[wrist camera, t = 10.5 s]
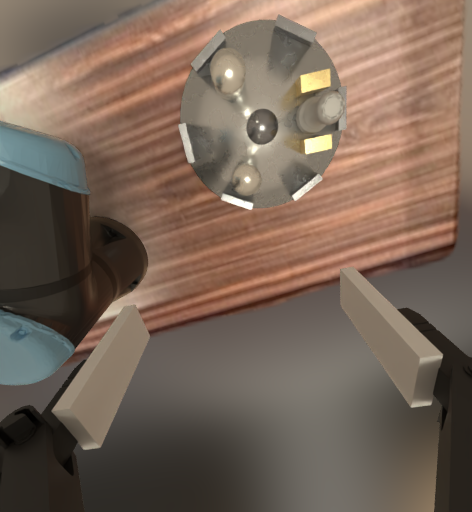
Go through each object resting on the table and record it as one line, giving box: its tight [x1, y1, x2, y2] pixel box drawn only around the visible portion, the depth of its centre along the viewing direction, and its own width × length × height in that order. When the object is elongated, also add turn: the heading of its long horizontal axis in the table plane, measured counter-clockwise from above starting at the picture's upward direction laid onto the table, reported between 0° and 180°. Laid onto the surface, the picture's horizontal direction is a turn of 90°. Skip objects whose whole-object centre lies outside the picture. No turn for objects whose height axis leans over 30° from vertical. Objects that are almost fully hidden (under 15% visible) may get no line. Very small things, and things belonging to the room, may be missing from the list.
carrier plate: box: [178, 14, 346, 210], centre depth 31 cm, size 23×23×6 cm
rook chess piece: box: [296, 91, 345, 134], centre depth 29 cm, size 4×4×8 cm
